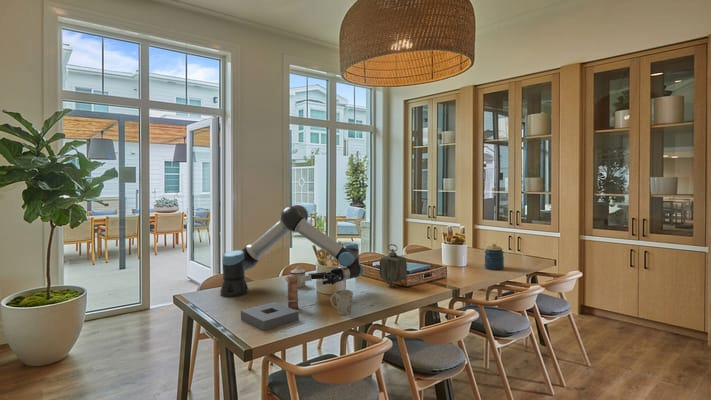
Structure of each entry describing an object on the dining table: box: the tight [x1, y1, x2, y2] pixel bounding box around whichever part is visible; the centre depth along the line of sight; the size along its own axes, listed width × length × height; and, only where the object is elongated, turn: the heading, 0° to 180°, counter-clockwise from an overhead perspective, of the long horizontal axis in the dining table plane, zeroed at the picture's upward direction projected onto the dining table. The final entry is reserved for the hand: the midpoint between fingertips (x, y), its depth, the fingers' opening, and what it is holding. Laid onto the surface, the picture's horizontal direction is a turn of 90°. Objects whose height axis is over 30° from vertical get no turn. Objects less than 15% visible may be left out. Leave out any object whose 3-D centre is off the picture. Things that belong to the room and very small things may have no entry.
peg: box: [287, 274, 299, 310], centre depth 195 cm, size 5×5×16 cm
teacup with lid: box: [285, 266, 306, 289], centre depth 236 cm, size 12×9×12 cm
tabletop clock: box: [379, 243, 408, 288], centre depth 233 cm, size 14×9×25 cm, turn 50°
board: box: [240, 301, 300, 331], centre depth 179 cm, size 20×18×4 cm
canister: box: [484, 243, 505, 271], centre depth 277 cm, size 13×13×18 cm
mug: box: [329, 289, 354, 316], centre depth 187 cm, size 8×13×10 cm, turn 58°
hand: (308, 281), depth 201 cm, fingers open, 13 cm apart
